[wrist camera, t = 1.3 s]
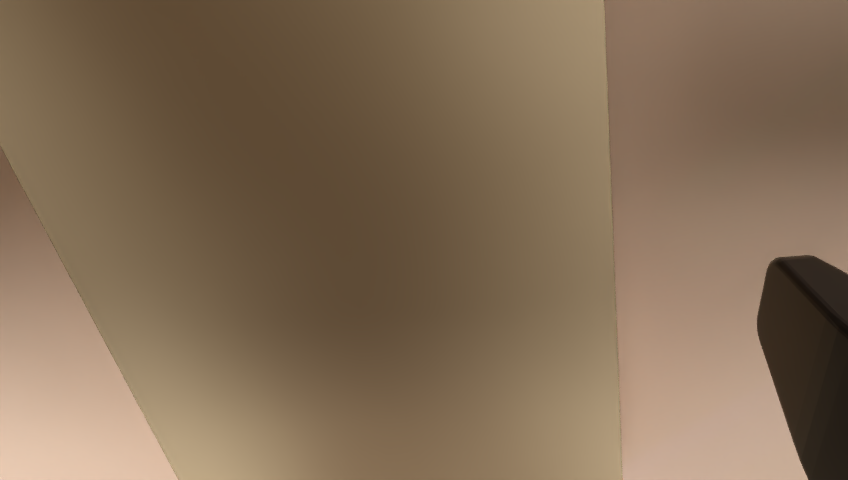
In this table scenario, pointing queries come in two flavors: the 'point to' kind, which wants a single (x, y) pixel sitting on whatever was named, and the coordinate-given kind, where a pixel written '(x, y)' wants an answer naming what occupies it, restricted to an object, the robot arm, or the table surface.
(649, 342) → the table surface
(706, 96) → the table surface
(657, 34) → the table surface
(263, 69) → the beige wooden block
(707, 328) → the table surface
